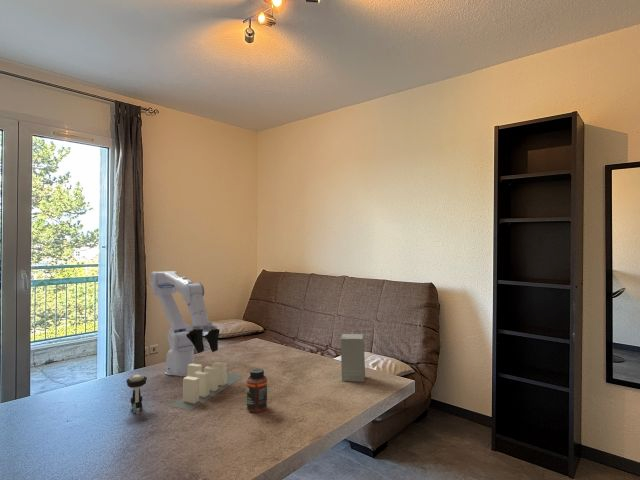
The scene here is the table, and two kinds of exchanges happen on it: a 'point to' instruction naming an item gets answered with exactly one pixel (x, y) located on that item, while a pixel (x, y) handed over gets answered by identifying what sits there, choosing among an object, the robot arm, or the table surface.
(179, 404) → the mat
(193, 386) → the domino
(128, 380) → the push button
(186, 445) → the table surface
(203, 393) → the domino
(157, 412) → the table surface
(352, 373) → the skincare box
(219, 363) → the domino
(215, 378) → the domino
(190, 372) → the domino
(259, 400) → the supplement bottle
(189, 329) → the robot arm
